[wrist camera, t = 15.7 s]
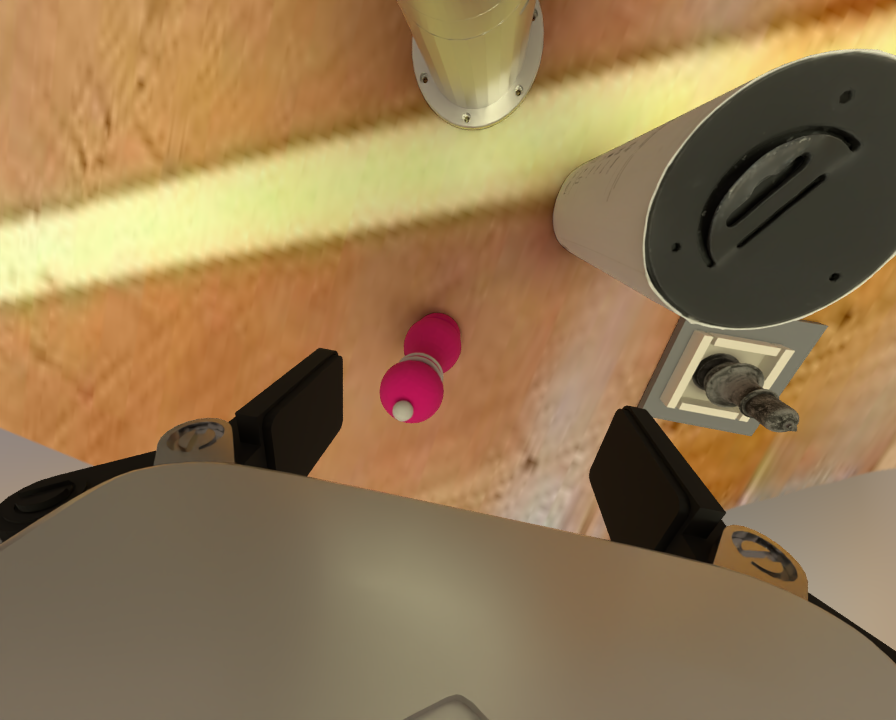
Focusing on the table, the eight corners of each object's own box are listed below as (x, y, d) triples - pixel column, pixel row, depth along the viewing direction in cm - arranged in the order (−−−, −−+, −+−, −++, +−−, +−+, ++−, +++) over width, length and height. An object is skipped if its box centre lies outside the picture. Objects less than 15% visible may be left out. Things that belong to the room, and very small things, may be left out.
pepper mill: (404, 343, 46) (347, 428, 28) (425, 299, 43) (375, 363, 25) (449, 366, 46) (421, 463, 28) (473, 324, 43) (458, 404, 25)
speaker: (578, 277, 39) (705, 375, 16) (531, 203, 36) (599, 188, 13) (666, 218, 35) (1007, 231, 12) (621, 131, 33) (945, -73, 9)
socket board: (688, 300, 39) (703, 308, 36) (818, 322, 38) (845, 331, 35) (635, 410, 45) (645, 423, 43) (745, 430, 45) (762, 445, 42)
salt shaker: (719, 342, 39) (806, 392, 28) (754, 368, 40) (851, 426, 29) (678, 376, 41) (744, 434, 30) (712, 400, 42) (787, 465, 31)
